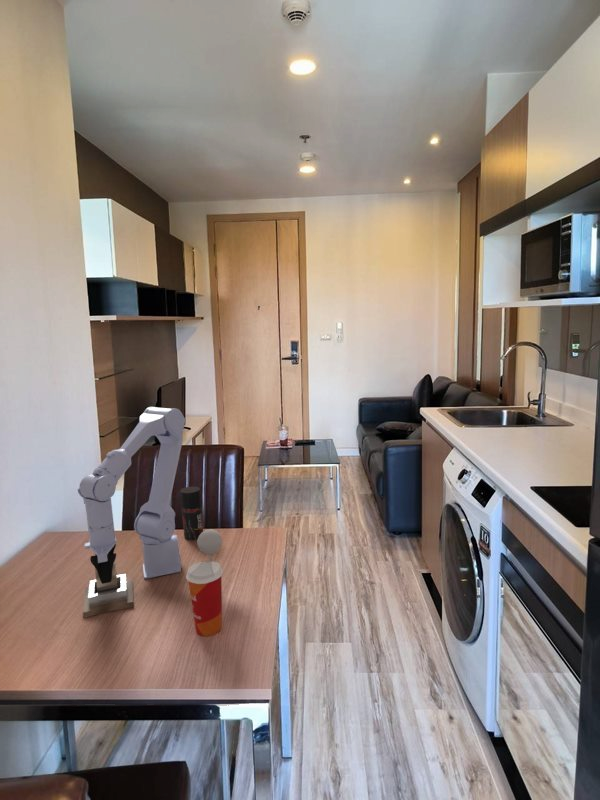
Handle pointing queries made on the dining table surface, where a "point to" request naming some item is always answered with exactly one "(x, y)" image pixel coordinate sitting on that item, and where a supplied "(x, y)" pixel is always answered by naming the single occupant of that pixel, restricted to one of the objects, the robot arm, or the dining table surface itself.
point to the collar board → (108, 597)
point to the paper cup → (206, 597)
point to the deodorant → (191, 512)
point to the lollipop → (209, 542)
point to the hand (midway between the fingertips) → (106, 577)
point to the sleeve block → (107, 585)
